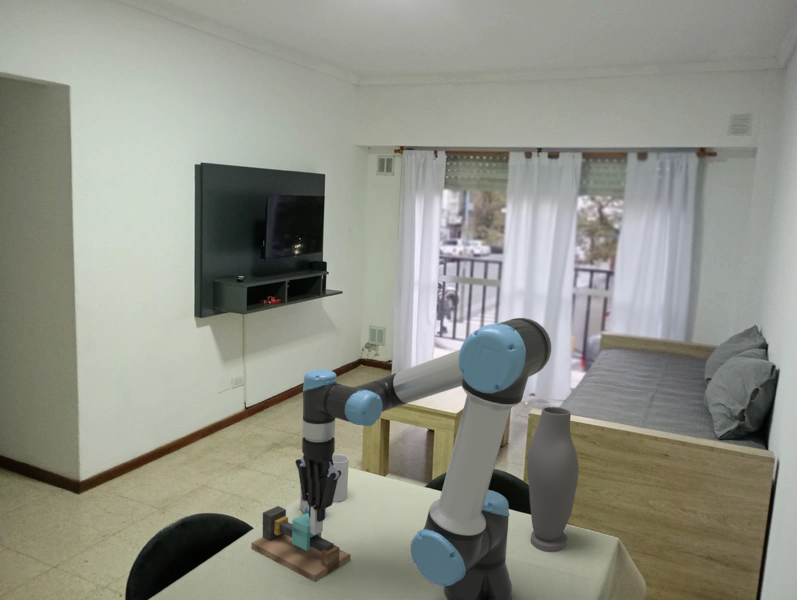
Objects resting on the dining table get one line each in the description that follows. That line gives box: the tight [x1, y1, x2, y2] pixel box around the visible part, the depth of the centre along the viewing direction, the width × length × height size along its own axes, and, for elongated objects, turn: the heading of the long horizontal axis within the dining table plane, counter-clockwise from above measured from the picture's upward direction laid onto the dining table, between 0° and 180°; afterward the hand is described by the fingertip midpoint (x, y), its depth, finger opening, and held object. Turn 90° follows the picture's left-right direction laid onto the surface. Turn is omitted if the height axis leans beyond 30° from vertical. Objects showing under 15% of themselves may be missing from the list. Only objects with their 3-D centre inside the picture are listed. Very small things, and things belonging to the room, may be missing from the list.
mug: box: [332, 453, 350, 503], centre depth 189 cm, size 10×7×12 cm, turn 177°
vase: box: [526, 406, 579, 553], centre depth 165 cm, size 13×13×35 cm
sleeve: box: [291, 513, 322, 551], centre depth 154 cm, size 5×5×6 cm
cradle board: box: [251, 505, 352, 582], centre depth 156 cm, size 22×12×8 cm, turn 52°
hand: (316, 532), depth 152 cm, fingers closed
